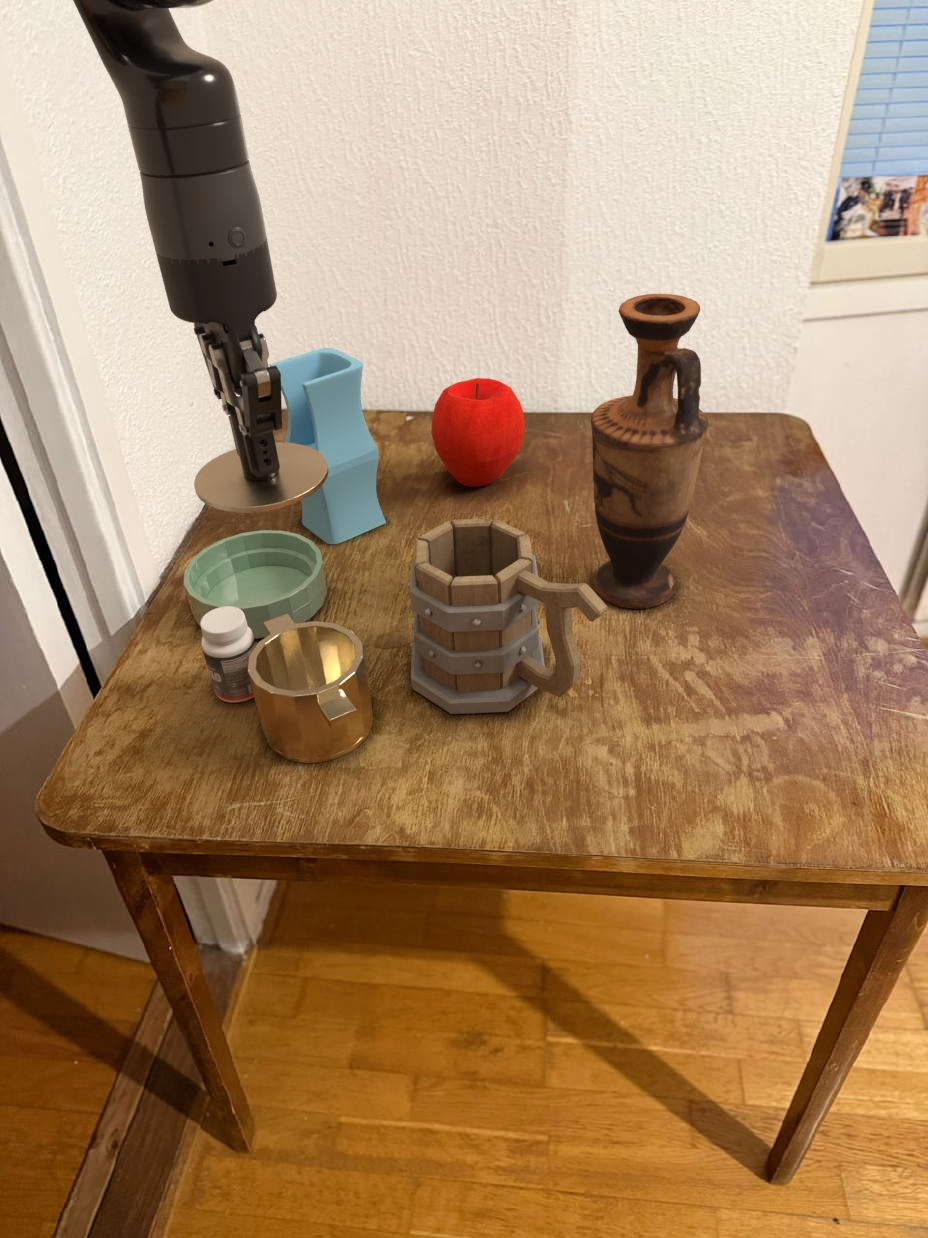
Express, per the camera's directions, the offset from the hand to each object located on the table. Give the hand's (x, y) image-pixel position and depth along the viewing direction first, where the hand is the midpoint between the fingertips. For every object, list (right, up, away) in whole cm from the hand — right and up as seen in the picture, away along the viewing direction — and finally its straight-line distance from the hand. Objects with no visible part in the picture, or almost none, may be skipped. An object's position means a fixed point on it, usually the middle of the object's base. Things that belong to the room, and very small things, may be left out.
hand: (259, 463), depth 71 cm
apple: (+18, +5, +44) cm, 48 cm away
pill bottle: (-5, -19, +14) cm, 24 cm away
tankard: (+20, -19, +13) cm, 31 cm away
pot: (+3, -22, +10) cm, 24 cm away
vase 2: (+35, -9, +24) cm, 43 cm away
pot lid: (0, -1, +1) cm, 1 cm away
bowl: (-6, -11, +25) cm, 28 cm away
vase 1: (+1, -1, +37) cm, 37 cm away
